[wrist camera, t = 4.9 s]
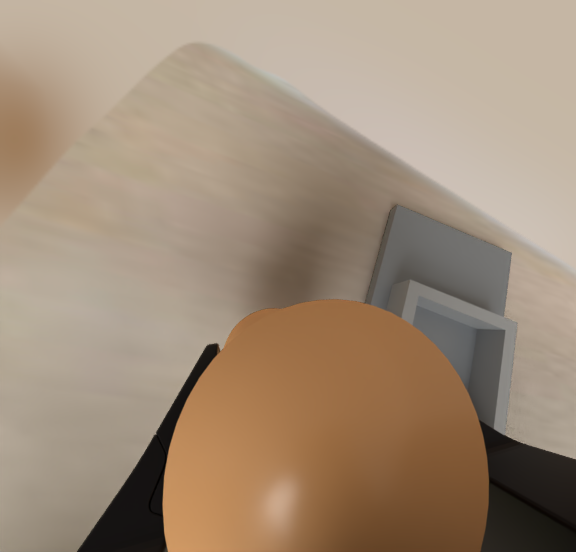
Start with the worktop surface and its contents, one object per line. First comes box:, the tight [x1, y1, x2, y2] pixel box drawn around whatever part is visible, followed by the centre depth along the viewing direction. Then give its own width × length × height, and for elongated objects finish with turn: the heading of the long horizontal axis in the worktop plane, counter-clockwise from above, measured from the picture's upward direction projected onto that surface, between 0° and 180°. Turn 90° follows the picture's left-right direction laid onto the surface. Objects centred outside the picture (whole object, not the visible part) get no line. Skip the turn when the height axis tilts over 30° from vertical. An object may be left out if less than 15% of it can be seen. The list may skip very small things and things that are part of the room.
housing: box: [365, 205, 517, 435], centre depth 21 cm, size 20×13×4 cm, turn 160°
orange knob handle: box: [163, 299, 489, 552], centre depth 10 cm, size 6×6×13 cm
